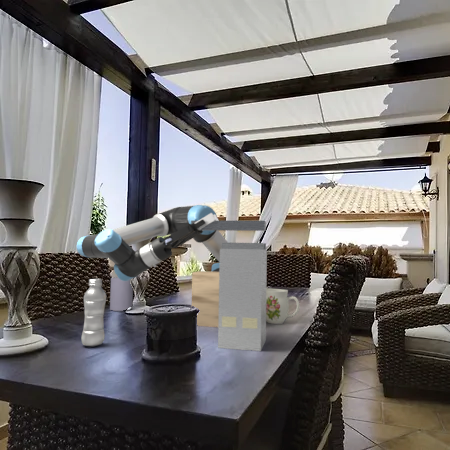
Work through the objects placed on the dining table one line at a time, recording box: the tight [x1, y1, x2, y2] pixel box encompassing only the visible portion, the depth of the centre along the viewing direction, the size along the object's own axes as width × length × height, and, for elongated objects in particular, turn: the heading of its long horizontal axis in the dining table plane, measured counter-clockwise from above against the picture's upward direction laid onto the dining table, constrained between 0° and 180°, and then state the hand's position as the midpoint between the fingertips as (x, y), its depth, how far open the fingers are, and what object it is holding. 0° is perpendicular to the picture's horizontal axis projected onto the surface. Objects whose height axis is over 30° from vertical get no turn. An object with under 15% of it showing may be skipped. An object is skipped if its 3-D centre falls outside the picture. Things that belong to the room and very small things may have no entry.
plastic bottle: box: [81, 278, 107, 347], centre depth 115 cm, size 6×7×20 cm
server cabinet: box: [217, 242, 268, 352], centre depth 120 cm, size 13×13×32 cm
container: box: [109, 276, 134, 312], centre depth 180 cm, size 10×10×15 cm
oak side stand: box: [191, 270, 219, 328], centre depth 150 cm, size 9×18×20 cm, turn 77°
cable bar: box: [191, 220, 267, 232], centre depth 123 cm, size 4×24×3 cm, turn 77°
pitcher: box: [266, 287, 300, 325], centre depth 156 cm, size 11×18×14 cm, turn 69°
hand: (215, 217), depth 124 cm, fingers closed on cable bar, 4 cm apart
